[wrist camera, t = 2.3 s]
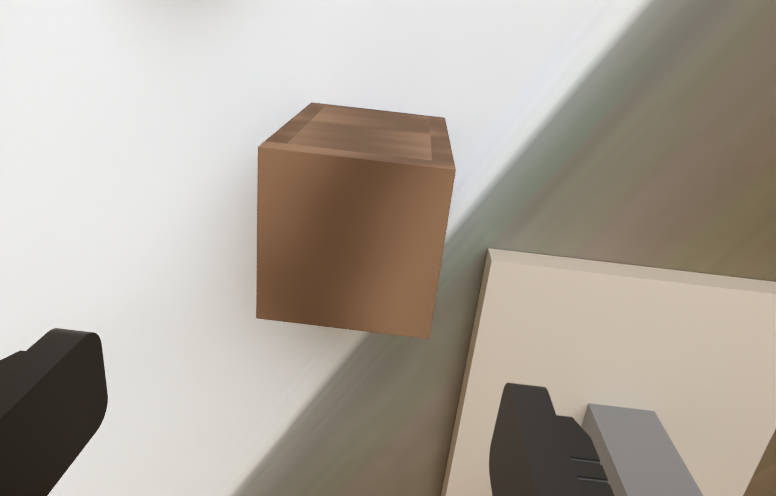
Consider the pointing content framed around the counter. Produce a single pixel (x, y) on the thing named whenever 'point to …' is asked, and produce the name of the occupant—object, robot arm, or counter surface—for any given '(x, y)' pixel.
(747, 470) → the post board
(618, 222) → the counter surface
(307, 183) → the brown wooden block
